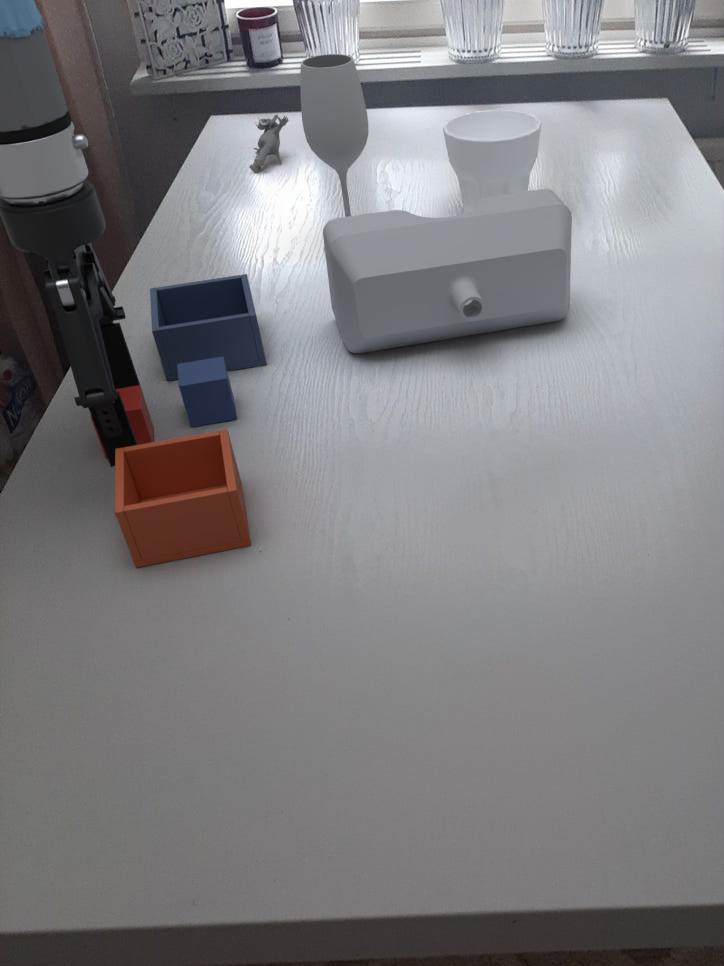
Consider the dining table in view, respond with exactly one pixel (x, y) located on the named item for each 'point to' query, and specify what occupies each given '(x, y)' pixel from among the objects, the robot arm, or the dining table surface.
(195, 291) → the slate bin
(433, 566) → the dining table surface
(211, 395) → the blue block
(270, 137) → the elephant figurine
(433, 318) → the tank
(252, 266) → the dining table surface
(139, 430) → the red block
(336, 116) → the wineglass
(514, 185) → the cup
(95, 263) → the robot arm
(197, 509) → the terracotta bin
